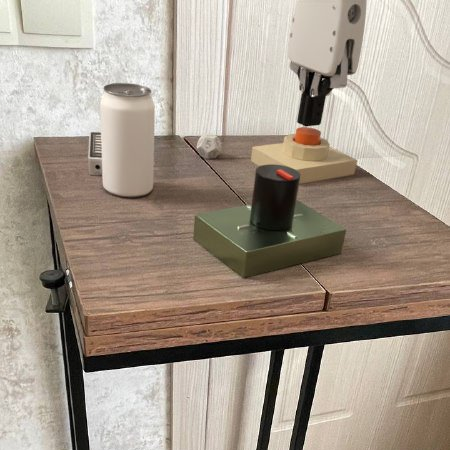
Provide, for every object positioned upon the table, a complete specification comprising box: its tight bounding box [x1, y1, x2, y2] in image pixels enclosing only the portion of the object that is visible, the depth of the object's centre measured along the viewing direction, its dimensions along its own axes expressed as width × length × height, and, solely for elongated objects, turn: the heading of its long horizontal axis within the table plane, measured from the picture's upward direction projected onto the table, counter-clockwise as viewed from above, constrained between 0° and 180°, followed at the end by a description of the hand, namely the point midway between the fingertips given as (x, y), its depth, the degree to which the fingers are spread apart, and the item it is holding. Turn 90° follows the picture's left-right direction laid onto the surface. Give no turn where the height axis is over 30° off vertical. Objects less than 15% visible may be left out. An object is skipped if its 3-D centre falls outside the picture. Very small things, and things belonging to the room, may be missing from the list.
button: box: [295, 126, 322, 146], centre depth 91 cm, size 4×4×2 cm
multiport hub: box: [87, 131, 103, 177], centre depth 88 cm, size 4×11×2 cm, turn 8°
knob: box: [250, 164, 300, 230], centre depth 68 cm, size 5×5×6 cm
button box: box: [250, 133, 358, 185], centre depth 93 cm, size 12×10×4 cm
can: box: [99, 82, 156, 199], centre depth 78 cm, size 6×6×12 cm
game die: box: [196, 133, 222, 160], centre depth 93 cm, size 4×4×3 cm
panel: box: [193, 199, 347, 279], centre depth 71 cm, size 14×10×3 cm
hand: (308, 123), depth 90 cm, fingers closed
